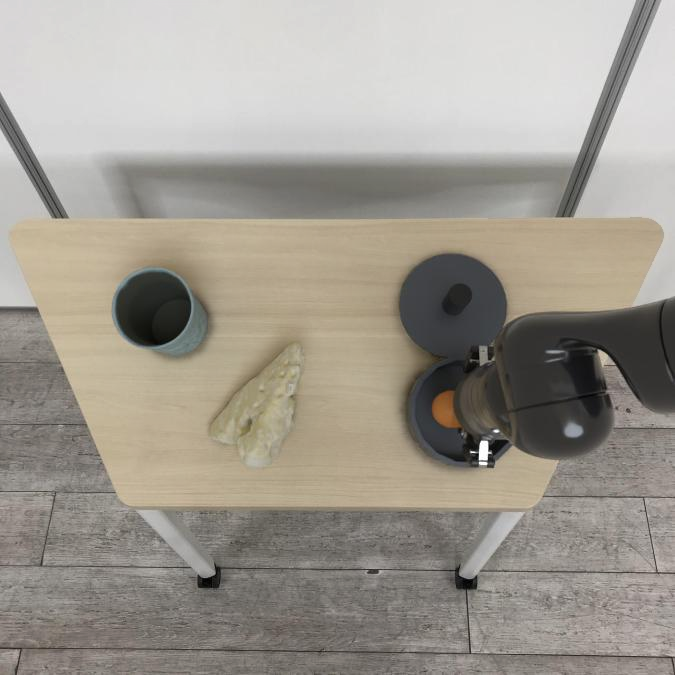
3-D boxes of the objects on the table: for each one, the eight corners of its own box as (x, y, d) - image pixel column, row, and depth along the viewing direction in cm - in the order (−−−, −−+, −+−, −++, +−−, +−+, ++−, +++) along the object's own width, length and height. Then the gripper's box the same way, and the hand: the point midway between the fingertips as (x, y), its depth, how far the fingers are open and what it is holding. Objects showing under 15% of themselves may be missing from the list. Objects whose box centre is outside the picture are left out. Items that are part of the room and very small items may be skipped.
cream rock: (240, 482, 84) (321, 472, 75) (198, 467, 79) (278, 454, 70) (259, 380, 91) (335, 359, 82) (221, 361, 86) (297, 336, 77)
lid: (505, 257, 86) (518, 241, 79) (505, 361, 84) (519, 353, 77) (400, 254, 87) (404, 237, 80) (397, 357, 84) (401, 349, 77)
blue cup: (163, 280, 87) (134, 254, 75) (227, 307, 86) (207, 286, 74) (131, 344, 86) (96, 328, 74) (196, 373, 85) (170, 361, 73)
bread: (501, 394, 77) (510, 391, 73) (501, 429, 76) (510, 429, 72) (429, 391, 78) (434, 388, 73) (429, 426, 77) (433, 425, 72)
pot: (509, 363, 84) (521, 357, 78) (510, 468, 81) (522, 469, 75) (407, 359, 84) (411, 353, 78) (405, 463, 82) (409, 464, 76)
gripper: (537, 477, 59) (496, 469, 75) (535, 330, 61) (496, 355, 78) (459, 473, 59) (435, 467, 76) (460, 327, 61) (436, 353, 78)
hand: (466, 410), depth 77 cm, fingers closed on bread, 4 cm apart
